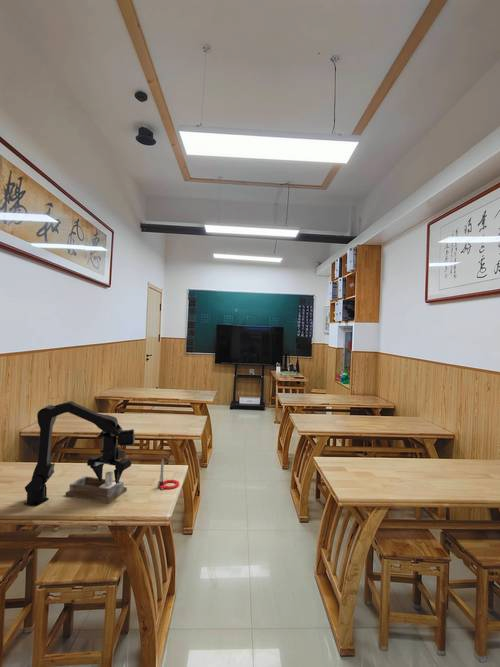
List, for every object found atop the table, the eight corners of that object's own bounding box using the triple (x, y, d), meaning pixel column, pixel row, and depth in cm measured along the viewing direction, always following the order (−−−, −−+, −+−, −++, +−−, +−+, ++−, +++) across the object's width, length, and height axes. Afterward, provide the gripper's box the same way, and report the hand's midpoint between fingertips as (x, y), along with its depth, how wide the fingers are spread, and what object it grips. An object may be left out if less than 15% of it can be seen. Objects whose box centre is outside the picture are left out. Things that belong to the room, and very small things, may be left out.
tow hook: (176, 481, 160) (157, 483, 156) (178, 454, 160) (159, 456, 156) (181, 488, 152) (160, 491, 148) (182, 460, 152) (162, 462, 148)
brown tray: (108, 503, 136) (108, 493, 136) (65, 496, 142) (65, 485, 142) (126, 490, 148) (126, 480, 148) (86, 484, 154) (86, 474, 154)
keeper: (108, 495, 140) (109, 476, 140) (99, 493, 141) (99, 475, 141) (118, 489, 146) (118, 471, 146) (108, 487, 147) (108, 469, 147)
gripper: (139, 442, 149) (138, 477, 149) (104, 438, 154) (103, 472, 154) (123, 451, 138) (122, 488, 138) (86, 446, 143) (85, 482, 143)
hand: (108, 482), depth 143 cm, fingers open, 8 cm apart
